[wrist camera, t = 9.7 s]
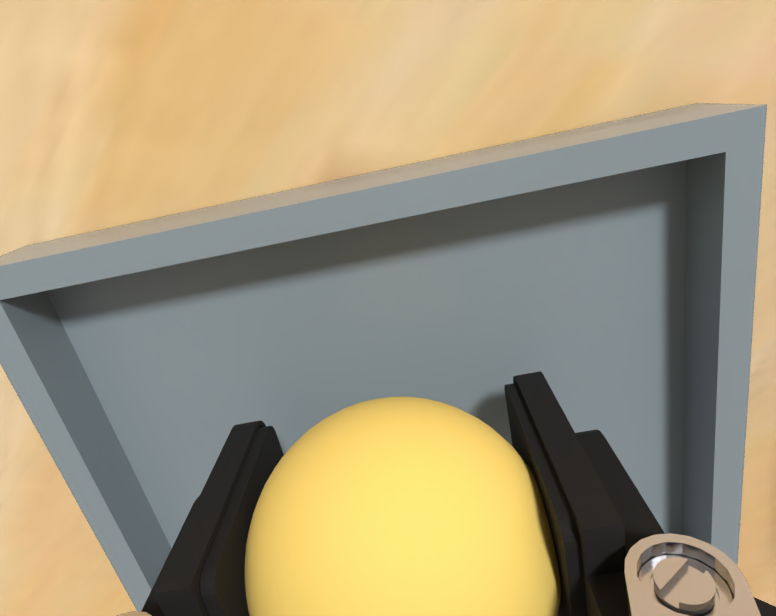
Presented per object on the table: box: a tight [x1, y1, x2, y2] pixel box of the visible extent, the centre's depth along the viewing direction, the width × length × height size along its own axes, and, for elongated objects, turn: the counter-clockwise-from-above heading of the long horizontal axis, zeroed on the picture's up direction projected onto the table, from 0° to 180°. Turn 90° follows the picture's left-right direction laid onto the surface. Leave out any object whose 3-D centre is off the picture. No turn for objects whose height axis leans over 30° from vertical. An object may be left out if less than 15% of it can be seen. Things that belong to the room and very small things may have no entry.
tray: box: [0, 103, 767, 612], centre depth 12 cm, size 14×11×2 cm
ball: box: [245, 397, 561, 616], centre depth 9 cm, size 5×5×5 cm
